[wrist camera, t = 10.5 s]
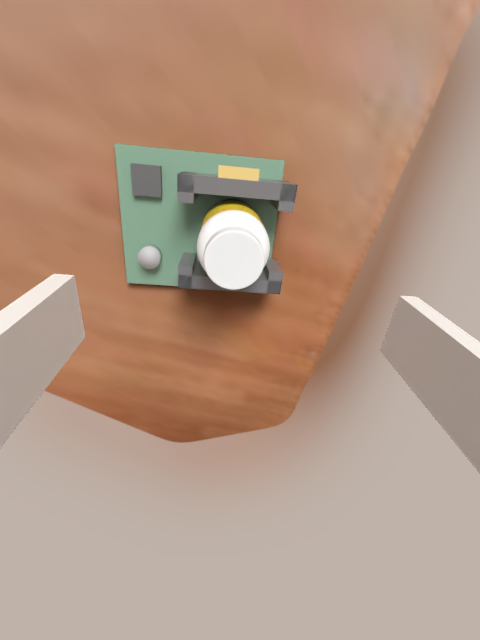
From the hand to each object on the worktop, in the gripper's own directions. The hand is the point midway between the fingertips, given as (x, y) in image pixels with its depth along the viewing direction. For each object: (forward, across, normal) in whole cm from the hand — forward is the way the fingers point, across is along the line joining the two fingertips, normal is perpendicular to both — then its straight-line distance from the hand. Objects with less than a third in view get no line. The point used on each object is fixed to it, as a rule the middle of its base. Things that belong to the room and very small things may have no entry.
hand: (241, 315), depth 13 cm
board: (+18, -3, 0) cm, 19 cm away
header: (+18, 0, 0) cm, 18 cm away
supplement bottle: (+18, 0, 0) cm, 18 cm away
